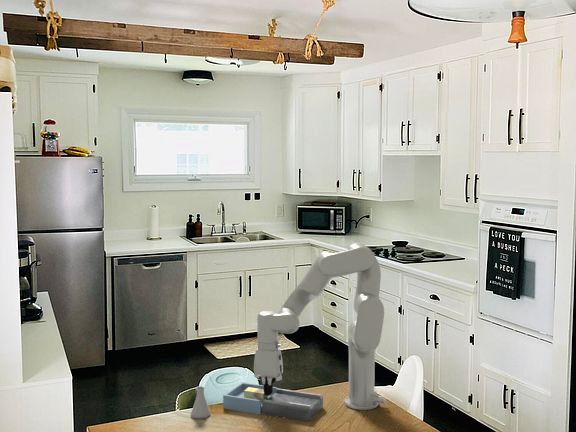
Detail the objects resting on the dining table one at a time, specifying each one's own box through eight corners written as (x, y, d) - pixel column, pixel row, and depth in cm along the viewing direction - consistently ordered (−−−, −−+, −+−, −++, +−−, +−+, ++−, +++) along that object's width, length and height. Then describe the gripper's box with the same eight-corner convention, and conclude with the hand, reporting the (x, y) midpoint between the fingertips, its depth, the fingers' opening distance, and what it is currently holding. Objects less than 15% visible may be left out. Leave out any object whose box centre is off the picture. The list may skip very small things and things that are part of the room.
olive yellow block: (258, 396, 229) (258, 388, 229) (253, 399, 226) (253, 392, 225) (248, 394, 231) (248, 387, 231) (243, 398, 227) (243, 390, 227)
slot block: (322, 407, 224) (322, 393, 224) (309, 422, 211) (309, 407, 211) (278, 400, 231) (278, 387, 231) (262, 414, 218) (262, 400, 218)
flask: (206, 419, 214) (206, 391, 213) (187, 418, 215) (186, 390, 214) (213, 412, 221) (213, 385, 220) (194, 410, 222) (194, 383, 221)
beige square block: (267, 397, 227) (267, 390, 227) (263, 401, 224) (263, 393, 224) (258, 396, 229) (258, 388, 229) (253, 400, 225) (253, 392, 225)
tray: (277, 400, 232) (277, 387, 231) (260, 414, 218) (260, 401, 218) (242, 394, 238) (242, 382, 237) (223, 408, 224) (223, 395, 224)
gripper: (290, 344, 224) (290, 393, 225) (254, 340, 230) (254, 388, 231) (282, 350, 217) (282, 400, 218) (244, 345, 223) (245, 395, 224)
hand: (268, 394), depth 225 cm, fingers closed
